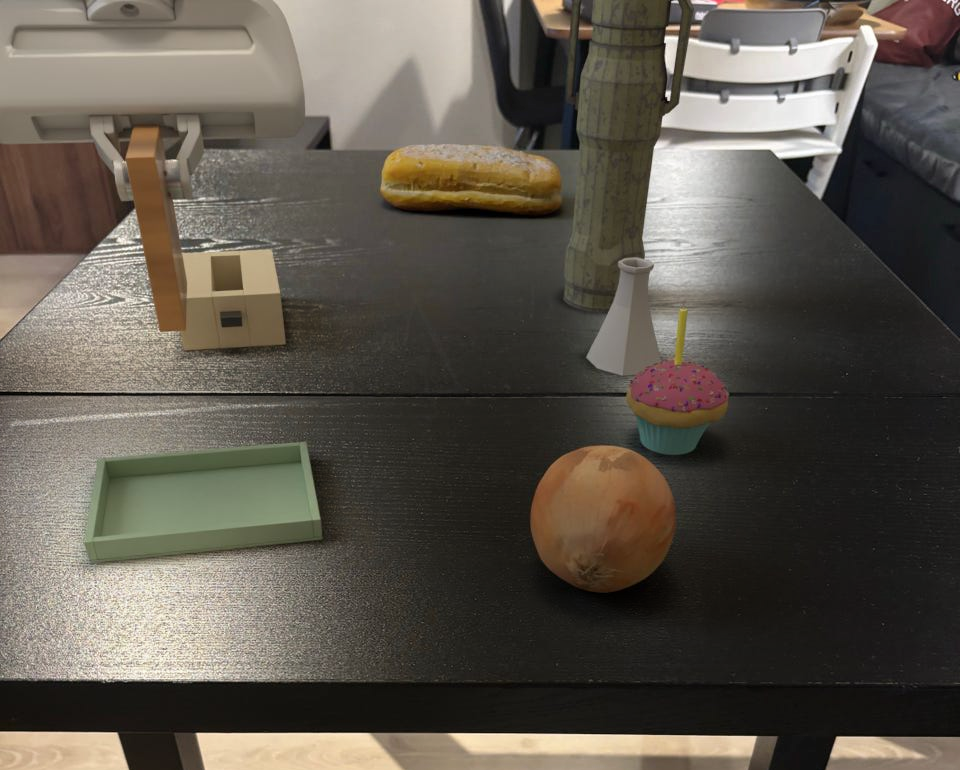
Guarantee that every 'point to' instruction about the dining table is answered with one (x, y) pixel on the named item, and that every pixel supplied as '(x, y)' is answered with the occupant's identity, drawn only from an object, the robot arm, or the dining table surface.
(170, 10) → the robot arm
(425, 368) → the dining table surface
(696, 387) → the cupcake
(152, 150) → the toast
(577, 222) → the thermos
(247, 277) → the toaster
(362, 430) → the dining table surface
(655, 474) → the onion
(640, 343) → the flask
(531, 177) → the bread
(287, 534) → the tray
